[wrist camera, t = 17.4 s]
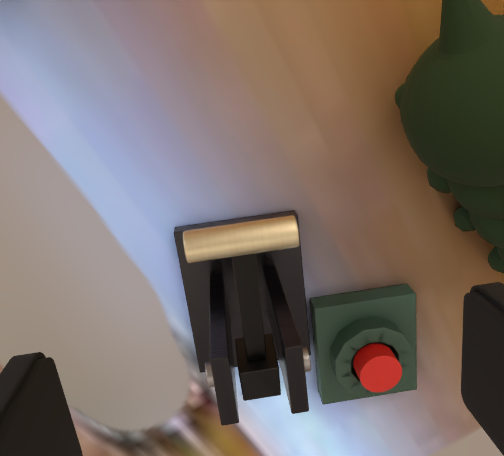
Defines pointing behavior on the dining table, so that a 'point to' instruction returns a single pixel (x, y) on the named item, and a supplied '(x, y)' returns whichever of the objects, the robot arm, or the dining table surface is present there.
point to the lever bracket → (229, 321)
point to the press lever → (247, 290)
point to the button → (377, 367)
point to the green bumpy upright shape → (462, 117)
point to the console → (362, 338)
